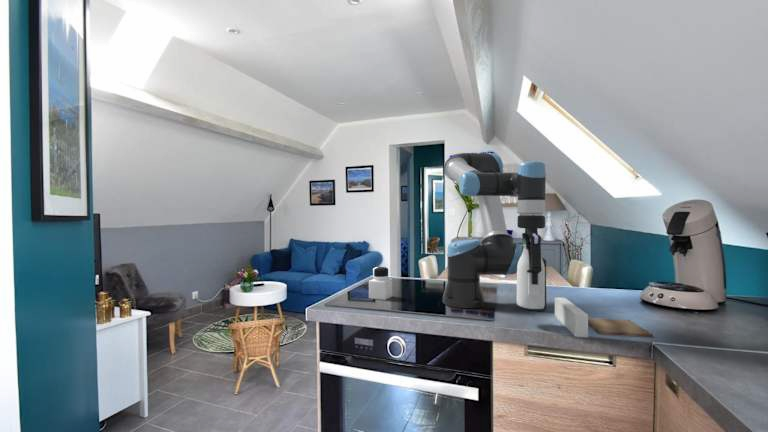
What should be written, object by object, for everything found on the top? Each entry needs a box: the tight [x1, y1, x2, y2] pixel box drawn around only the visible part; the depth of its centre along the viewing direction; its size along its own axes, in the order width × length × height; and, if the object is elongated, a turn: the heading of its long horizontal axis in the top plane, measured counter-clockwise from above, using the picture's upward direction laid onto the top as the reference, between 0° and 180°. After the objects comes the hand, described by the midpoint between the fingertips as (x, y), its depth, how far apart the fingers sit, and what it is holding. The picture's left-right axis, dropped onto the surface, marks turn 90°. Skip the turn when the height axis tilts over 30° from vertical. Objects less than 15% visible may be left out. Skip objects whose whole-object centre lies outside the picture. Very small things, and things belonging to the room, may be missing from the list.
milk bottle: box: [516, 238, 545, 310], centre depth 103 cm, size 8×8×20 cm
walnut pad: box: [588, 317, 655, 338], centre depth 100 cm, size 13×13×1 cm
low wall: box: [554, 296, 589, 338], centre depth 103 cm, size 3×20×6 cm, turn 168°
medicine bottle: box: [368, 266, 393, 301], centre depth 138 cm, size 7×7×12 cm
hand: (530, 291), depth 103 cm, fingers closed on milk bottle, 8 cm apart
